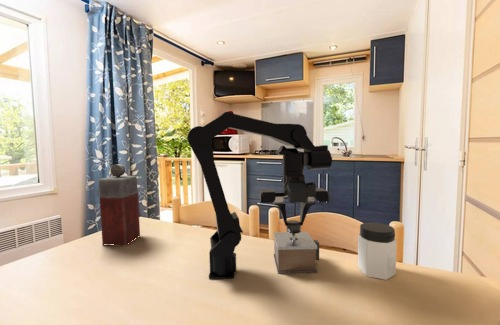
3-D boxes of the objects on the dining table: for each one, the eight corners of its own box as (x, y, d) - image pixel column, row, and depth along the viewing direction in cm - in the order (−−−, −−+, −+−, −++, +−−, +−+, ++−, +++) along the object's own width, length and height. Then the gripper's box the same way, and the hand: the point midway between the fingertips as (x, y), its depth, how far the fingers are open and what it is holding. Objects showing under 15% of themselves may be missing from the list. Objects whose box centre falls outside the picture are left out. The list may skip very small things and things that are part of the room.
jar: (382, 283, 59) (383, 235, 58) (352, 269, 66) (352, 226, 65) (400, 272, 64) (402, 227, 63) (370, 260, 71) (371, 220, 70)
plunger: (281, 267, 66) (281, 227, 65) (278, 254, 74) (277, 218, 73) (311, 266, 66) (311, 227, 65) (304, 253, 74) (304, 217, 73)
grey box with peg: (277, 273, 65) (277, 246, 64) (273, 255, 75) (273, 232, 74) (323, 272, 65) (323, 245, 64) (313, 254, 75) (313, 231, 74)
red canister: (143, 234, 95) (140, 162, 93) (125, 246, 84) (121, 165, 82) (122, 233, 96) (118, 162, 94) (102, 245, 85) (96, 165, 83)
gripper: (261, 174, 60) (262, 236, 61) (337, 173, 60) (336, 235, 61) (259, 169, 71) (260, 222, 72) (323, 168, 71) (323, 221, 72)
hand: (293, 225), depth 69 cm, fingers closed on plunger, 4 cm apart
